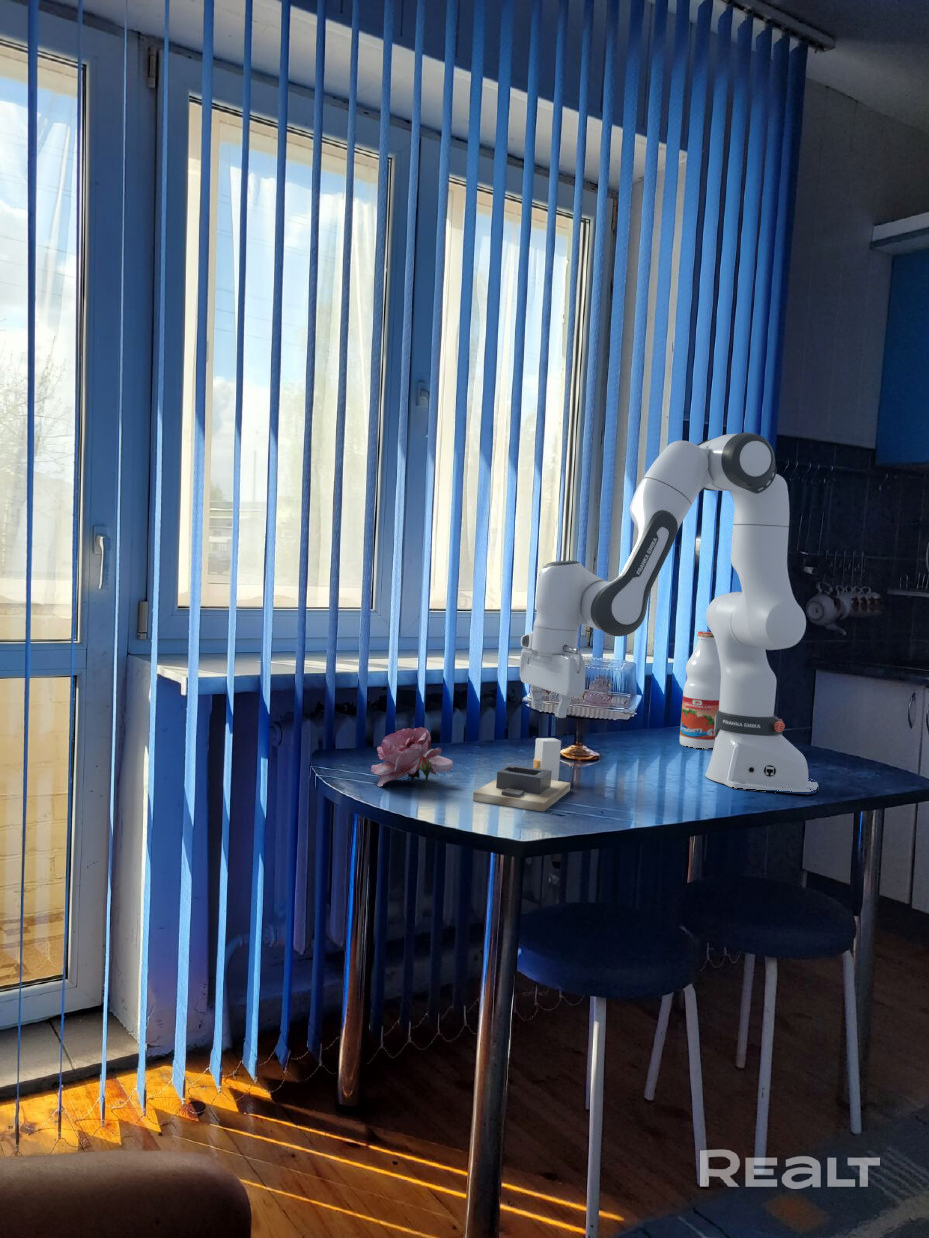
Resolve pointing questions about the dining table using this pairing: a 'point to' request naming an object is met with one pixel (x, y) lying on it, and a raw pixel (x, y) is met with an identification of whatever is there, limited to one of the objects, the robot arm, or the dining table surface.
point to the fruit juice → (701, 694)
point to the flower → (409, 756)
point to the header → (524, 779)
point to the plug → (548, 755)
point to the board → (521, 796)
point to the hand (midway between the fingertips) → (548, 712)
